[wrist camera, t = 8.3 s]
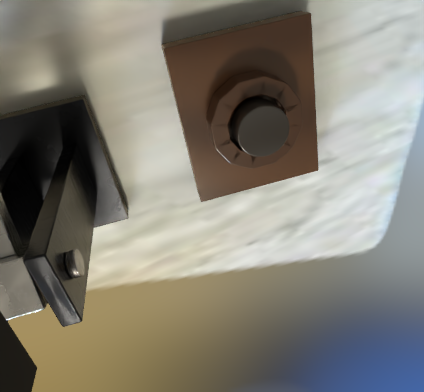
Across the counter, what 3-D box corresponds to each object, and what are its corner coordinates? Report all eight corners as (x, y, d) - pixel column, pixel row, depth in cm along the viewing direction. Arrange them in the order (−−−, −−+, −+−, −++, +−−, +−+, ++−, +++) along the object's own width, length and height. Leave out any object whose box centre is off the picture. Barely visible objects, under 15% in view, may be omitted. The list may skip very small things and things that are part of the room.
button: (227, 105, 26) (233, 113, 24) (278, 92, 26) (287, 99, 24) (235, 152, 28) (242, 163, 26) (283, 140, 28) (291, 149, 26)
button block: (161, 44, 26) (165, 53, 23) (301, 10, 27) (323, 15, 24) (197, 191, 32) (205, 214, 29) (310, 161, 33) (328, 180, 30)
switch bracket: (-32, 122, 26) (-159, 245, 14) (84, 94, 27) (53, 190, 15) (32, 236, 31) (-23, 393, 20) (128, 210, 32) (130, 349, 20)
